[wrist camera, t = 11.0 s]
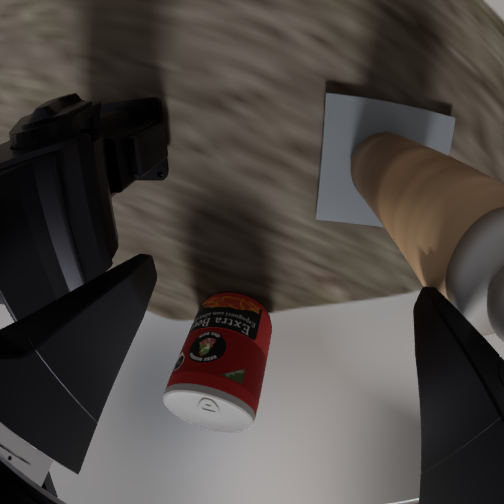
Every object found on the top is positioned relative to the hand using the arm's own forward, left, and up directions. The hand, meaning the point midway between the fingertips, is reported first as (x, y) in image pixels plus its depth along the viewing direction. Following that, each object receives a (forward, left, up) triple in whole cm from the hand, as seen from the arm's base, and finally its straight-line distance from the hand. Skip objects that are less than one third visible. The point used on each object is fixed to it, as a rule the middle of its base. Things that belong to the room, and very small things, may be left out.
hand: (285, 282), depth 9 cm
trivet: (+6, 0, -13) cm, 14 cm away
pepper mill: (+6, 0, -12) cm, 13 cm away
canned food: (-5, -17, -14) cm, 22 cm away
